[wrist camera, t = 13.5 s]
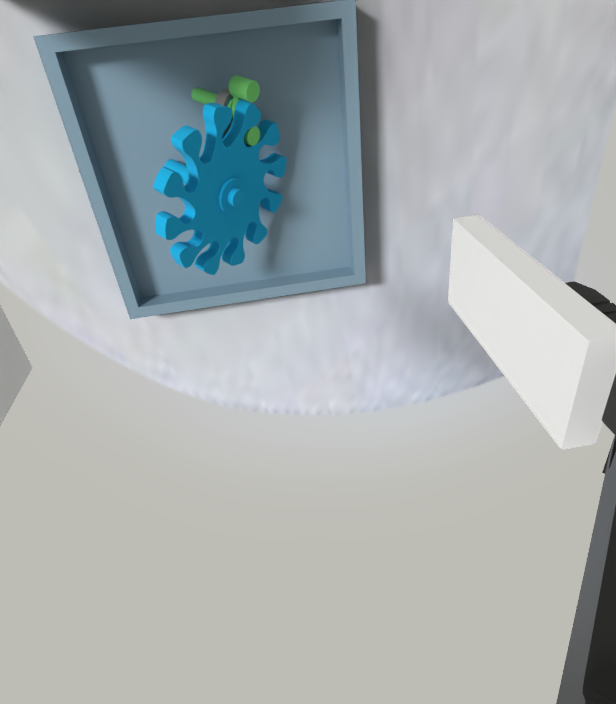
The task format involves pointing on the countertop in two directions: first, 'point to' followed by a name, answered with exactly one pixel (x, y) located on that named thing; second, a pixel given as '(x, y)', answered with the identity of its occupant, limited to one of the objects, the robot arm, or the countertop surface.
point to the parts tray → (180, 110)
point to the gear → (221, 178)
